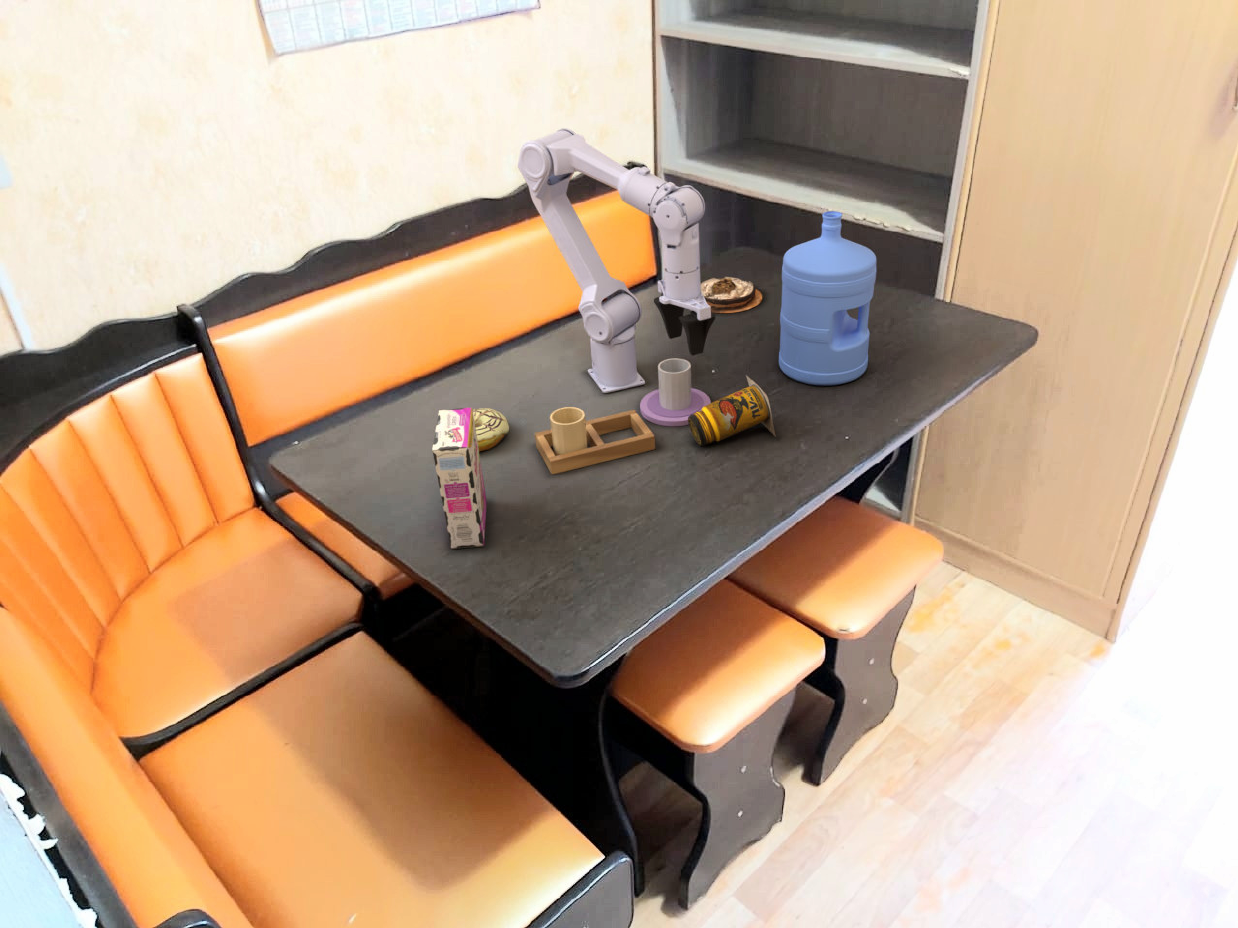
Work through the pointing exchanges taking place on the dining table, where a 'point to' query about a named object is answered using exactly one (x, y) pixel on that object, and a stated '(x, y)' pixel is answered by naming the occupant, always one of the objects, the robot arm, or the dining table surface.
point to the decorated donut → (489, 427)
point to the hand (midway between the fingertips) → (685, 345)
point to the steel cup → (674, 384)
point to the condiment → (731, 415)
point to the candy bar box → (460, 477)
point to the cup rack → (598, 443)
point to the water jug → (826, 307)
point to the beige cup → (568, 430)
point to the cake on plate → (730, 295)
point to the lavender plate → (671, 417)
